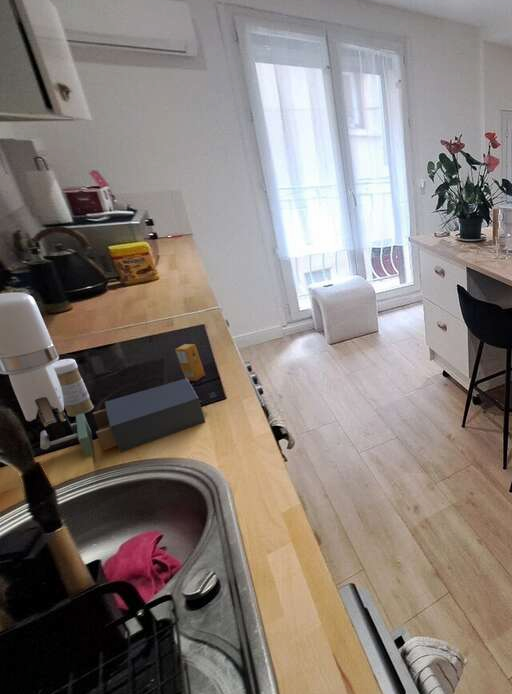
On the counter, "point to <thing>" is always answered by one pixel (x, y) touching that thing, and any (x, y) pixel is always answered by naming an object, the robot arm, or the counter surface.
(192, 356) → the supplement box
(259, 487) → the counter surface
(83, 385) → the sprinkles bottle
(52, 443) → the drawer
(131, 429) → the cabinet
